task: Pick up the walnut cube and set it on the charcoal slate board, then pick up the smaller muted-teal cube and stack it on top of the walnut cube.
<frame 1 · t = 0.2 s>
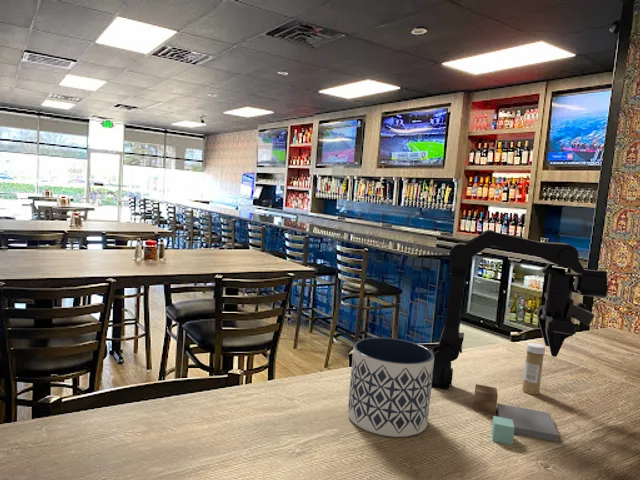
hand: (550, 351, 125), 14 cm above the table, fingers open, 9 cm apart
sprinkles bottle: (530, 392, 134), on the table
walnut block: (484, 408, 121), on the table
slate board: (525, 424, 114), on the table
teal block: (501, 439, 106), on the table
planter: (386, 419, 111), on the table
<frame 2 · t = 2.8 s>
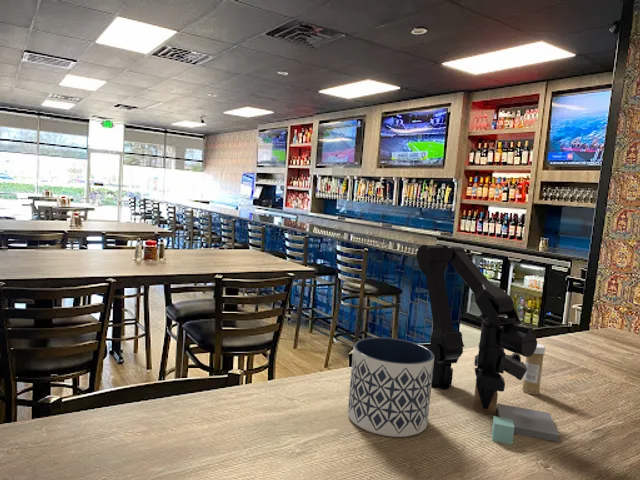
hand: (484, 404, 121), 1 cm above the table, fingers closed on walnut block, 5 cm apart
walnut block: (484, 408, 121), on the table, touching gripper
everything else where it was.
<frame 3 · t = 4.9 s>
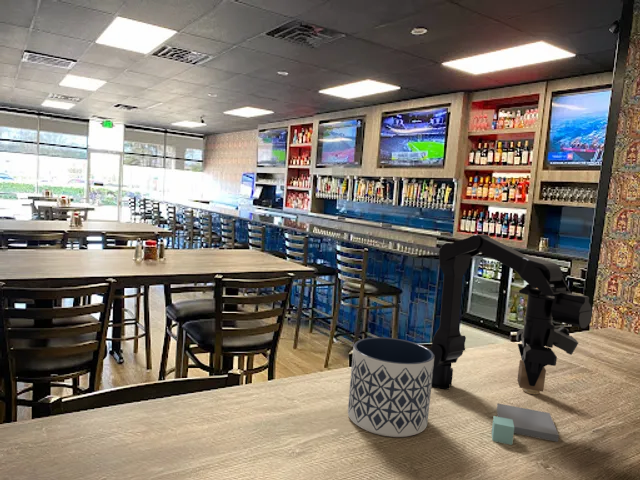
hand: (530, 381, 113), 10 cm above the table, fingers closed on walnut block, 5 cm apart
walnut block: (529, 385, 113), point 9 cm above the table, touching gripper
everything else where it was.
when the fingers open (3 cm above the table, at t = 6.9 s): walnut block stays where it is, resting on slate board.
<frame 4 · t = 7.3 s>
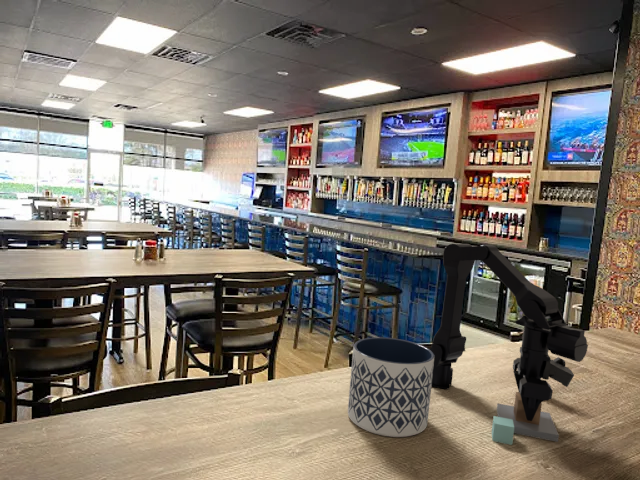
hand: (526, 412, 113), 3 cm above the table, fingers open, 9 cm apart
walnut block: (525, 418, 113), point 1 cm above the table, touching slate board
everything else where it was.
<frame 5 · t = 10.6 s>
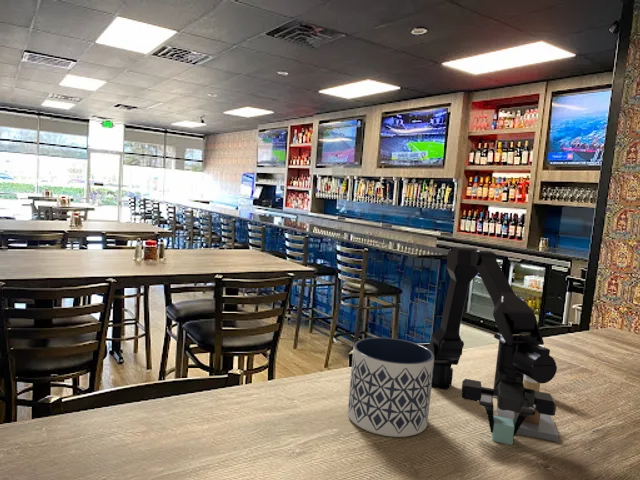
hand: (502, 433, 106), 1 cm above the table, fingers closed on teal block, 4 cm apart
teal block: (501, 438, 106), on the table, touching gripper
everything else where it was.
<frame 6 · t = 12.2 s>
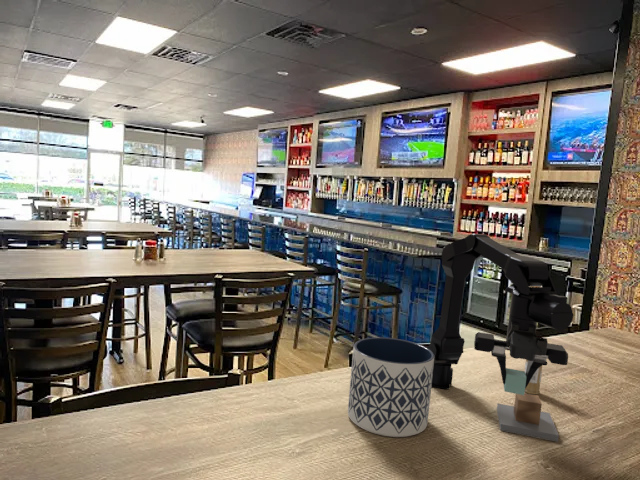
hand: (514, 385, 107), 11 cm above the table, fingers closed on teal block, 4 cm apart
teal block: (513, 390, 107), point 10 cm above the table, touching gripper
everything else where it was.
when the fingers open (8 cm above the table, at t = 13.8 s): teal block stays where it is, resting on walnut block.
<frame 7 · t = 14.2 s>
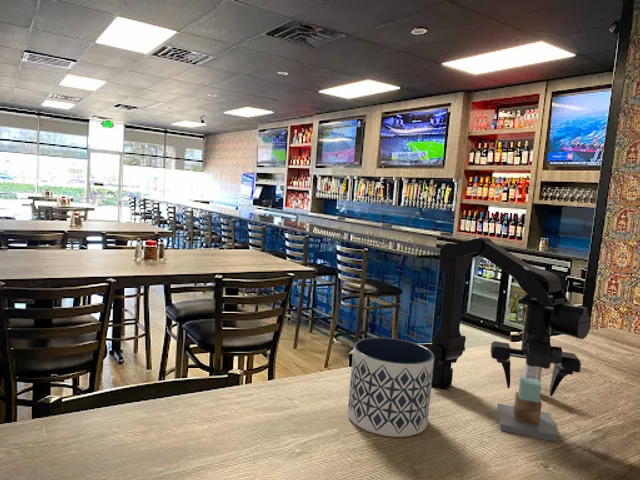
hand: (529, 391, 113), 8 cm above the table, fingers open, 9 cm apart
walnut block: (525, 418, 113), point 1 cm above the table, touching slate board, teal block
teal block: (528, 397, 113), point 6 cm above the table, touching walnut block
everything else where it was.
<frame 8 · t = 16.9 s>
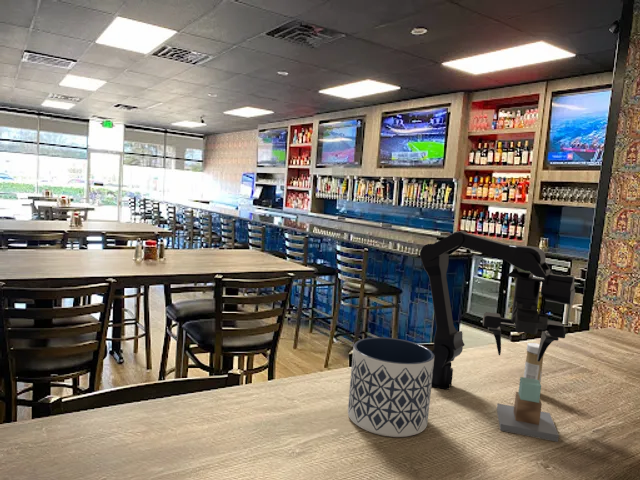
hand: (518, 357, 121), 13 cm above the table, fingers open, 9 cm apart
nothing on the table moved.
at the end: walnut block inside the target area on the slate board (0.1 cm from its centre), point 1.5 cm above the slate board's base; teal block 0.1 cm off-centre on the walnut block, point 5.0 cm above the walnut block's base; teal block tilted 0° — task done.
